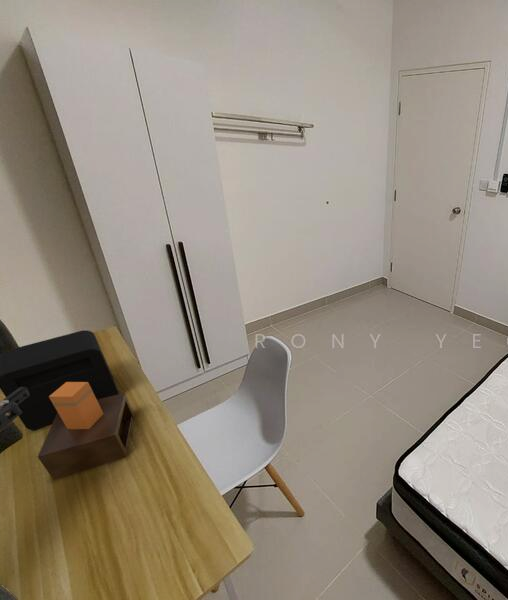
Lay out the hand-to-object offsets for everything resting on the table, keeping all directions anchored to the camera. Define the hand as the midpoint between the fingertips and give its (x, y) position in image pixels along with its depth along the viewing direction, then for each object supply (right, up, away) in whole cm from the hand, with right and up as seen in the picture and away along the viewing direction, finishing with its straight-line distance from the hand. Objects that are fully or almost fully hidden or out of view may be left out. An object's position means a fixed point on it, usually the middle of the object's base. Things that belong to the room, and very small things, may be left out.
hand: (2, 390), depth 64 cm
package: (-2, -13, +19) cm, 24 cm away
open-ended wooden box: (-3, -21, +24) cm, 32 cm away
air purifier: (-21, -14, +36) cm, 44 cm away
